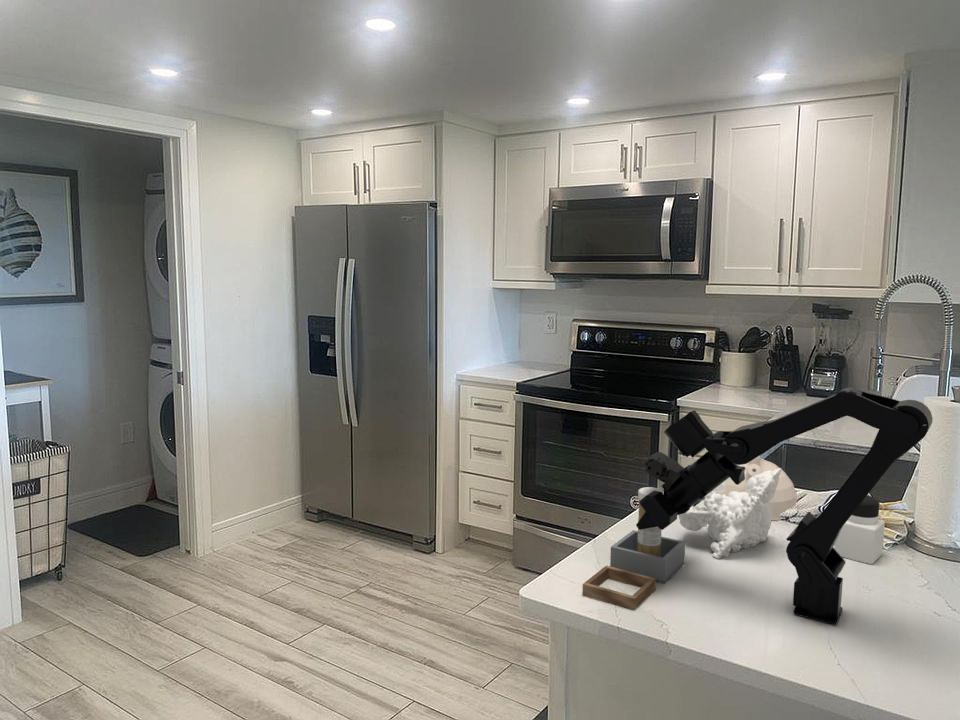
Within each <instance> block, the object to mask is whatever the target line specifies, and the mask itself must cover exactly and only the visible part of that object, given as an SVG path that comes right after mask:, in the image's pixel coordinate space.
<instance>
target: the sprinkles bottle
mask: <svg viewBox="0 0 960 720" xmlns="http://www.w3.org/2000/svg"><path fill="white" fill-rule="evenodd" d="M653 491H659V492H662V494H663V492H664V490H662V489H660V488H657V487H651V486H646V487H641V488H639V489H638V491H637V492H638V493H637V499H638V519H637V522H638V521H639V520H640V519H641V517H642V516H643V514H644V513H645V512H646V511H645V510H644V509H643V507H642V506H641V505H640V500H641V499H643V498H644V497H645V496H646V495H648V494H650V493H651V492H653ZM637 531H638V552H641V553H646V554H650V555H654V556H658V557H661V556H660V545H661V536H662V530H661V529H659V528H658V527H652V528H647V529H641V530H639V529H638V528H637Z"/></svg>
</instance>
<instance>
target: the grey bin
mask: <svg viewBox="0 0 960 720" xmlns="http://www.w3.org/2000/svg"><path fill="white" fill-rule="evenodd" d="M660 556H661V557H658V556H654V555H650V554H646V553H641V552H638V530H635V529H633V530H631V531H630V532H629V533H627V534H626V535H624V537H622V538H621V539H619V540H618V541H617V542H615V543H614V544H613V545H611V546H610V556H609V557H610V559H609V560H610V561H609V562H610V563H609V566H610V567H614V568H618V569H622V570H626V571H630V572H634V573H637V574H641V575H645V576H649V577H653V578H656V583H659V584H662V585H665V584H666V583H667V582H668V581H669V580H670V579H671V578H672V577H673V576H674V575H675V574H676V573H677V572H678V571H679V570H680V569H681V568H682V567H683V566H684V565H685V559H686V558H685V556H686V541H684V540H678V539H675V538H670V537H665V536H662V535H661V545H660Z"/></svg>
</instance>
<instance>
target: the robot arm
mask: <svg viewBox="0 0 960 720" xmlns="http://www.w3.org/2000/svg"><path fill="white" fill-rule="evenodd" d="M844 417H850V418H853V419H855V420H857V421H860V422H862V423H864V424H866V425H868V426H870V427H872V428H874V429H877V430H878V431H877V433H876V435H875V437H874V440H873V442H872V445H871V447H870V449H869V450H868V452H867V453H866V454H865V456H864V457H863V458H862V460H861V461H860V462H859V464H858V465H857V466H856V468H855V469H854V470H853V471H852V473H851V474H850V475H849V477H847V479H846V481H845V482H844V483H843V484H842V486H841V487H840V489H838V491H837V492H836V494H834V496H833V498H831V500H830V502H829V503H828V504H827V505H826V507H825V508H824V509H823V510H822V511H821V512H820V513H818V514H817V515H816V516H814V514H812V513H811V512H810V511H808V512H806V514H805V515H804V516H803V517H802V518H801V520H800V521H799V523H798V525H797V526H796V527H795V528H794V529H793V530H792V532H791V533H789V535H788V536H787V538H786V541H787V542H789V543H788V544H787V546H786V548H785V552H786V556H787V559H788V560H789V562H790V564H792V566H793V567H794V568H795V571H796V574H797V578H796V580H795V581H794V583H793V594H792V595H793V596H792V597H793V598H792V606H793V607H794V609H793V614H794V615H796V616H800V617H803V618H808V619H811V620H816V621H820V622H824V623H827V624H831V625H838V622H839V620H840V617H841V615H842V613H843V609H844V608H843V607H842V594H843V582H844V580H843V579H844V578H843V577H841V576H840V574H841V572H842V570H843V568H844V567H845V565H846V560H845V558H844V557H841V556H840V555H839V553H838V552H837V551H836V550H835V549H834V544H835V542H836V540H837V538H838V536H839V534H840V531H841V529H842V527H843V525H844V524H845V523H846V521H847V520H848V519H849V518H850V516H851V515H852V514H853V513H854V511H855V510H856V509H857V507H858V506H859V505H860V504H861V502H862V501H863V500H864V499H865V497H866V496H867V495H869V494H870V492H871V491H872V490H873V489H874V487H875V486H876V485H877V483H878V482H879V481H880V480H881V478H882V477H883V476H884V475H885V473H886V472H888V469H889V468H890V467H891V466H892V464H894V463H895V462H896V461H897V460H899V459H900V458H901V457H903V456H904V455H905V454H907V453H908V452H909V451H910V450H911V449H912V448H914V446H916V445H917V444H919V443H920V442H921V441H922V440H923V439H924V438H925V437H926V435H927V434H928V432H929V430H930V428H931V426H932V424H933V421H934V419H933V418H934V417H933V415H932V411H931V410H930V408H929V407H928V406H927V405H926V404H924V403H923V402H921V401H919V400H916V399H906V400H898V399H894V398H891V397H889V396H883V395H880V394H875V393H871V392H866V391H863V390H861V389H859V388H856V387H853V386H852V387H851V386H849V387H845V388H843V389H841V390H840V391H838V392H837V393H835V394H832V395H830V396H828V397H826V398H823V399H820V400H818V401H815V402H814V403H811V404H809V405H806V406H804V407H802V408H799V409H797V410H794V411H792V412H789V413H787V414H786V415H785V414H784V415H782V416H780V417H778V418H776V419H771V420H767V421H760V422H754V423H752V424H751V423H750V424H745V425H742V426H739V427H737V428H736V429H735V430H718V431H716V432H713V431H712V430H711V429H710V427H709V426H708V425H707V424H706V423H705V422H704V421H703V420H702V418H701V416H700V414H699V413H698V412H697V411H696V410H695V409H694V410H691V411H689V412H687V414H686V415H684V416H682V417H681V418H680V419H678V420H677V421H675V422H672V424H670V425H669V426H668V427H667V428H666V429H665V430H664V431H663V433H664V434H665V436H666V437H667V439H669V441H670V442H671V443H672V444H673V445H674V447H675V448H676V449H677V450H678V451H679V453H681V455H682V456H683V457H684V458H685V457H686V458H688V457H691V458H692V459H694V458H695V457H697V456H698V455H699V454H701V453H703V452H704V451H705V450H706V452H705V453H704V454H702V455H701V456H700V457H699V458H697V459H696V460H695V461H694V462H693V463H691V464H688V465H687V466H685V467H684V466H682V465H681V464H679V462H677V461H676V460H675V459H673V458H671V457H670V456H668V455H666V454H665V453H664V452H661V451H657V452H655V453H653V454H651V455H650V456H649V459H648V460H647V461H645V462H644V468H643V470H644V472H645V473H646V474H647V475H650V476H651V477H653V478H655V479H657V480H658V481H660V482H662V485H661V484H660V485H661V488H662V489H663V494H662V492H659V491H653V492H651V493H650V494H648V495H646V496H645V497H644V498H643V499H641V500H640V505H641V506H642V507H643V509H644V510H645V511H646V512H645V513H644V514H643V516H642V517H641V519H640V520H639V521H638V520H637V523H636V525H635V526H636V528H637V530H638V529H639V530H641V529H647V528H652V527H658V528H659V529H661V531H663V530H665V529H667V527H668V526H670V525H671V524H673V523H674V522H675V521H677V520H678V516H679V515H680V514H683V513H686V512H687V511H688V510H690V508H691V507H692V506H693V507H694V506H697V505H698V504H700V503H701V502H702V501H704V499H705V496H706V495H707V494H709V493H710V492H711V491H713V490H714V489H715V488H716V487H718V486H719V485H720V484H722V483H723V482H724V481H726V480H727V479H728V478H729V477H730V478H731V479H732V481H733V482H734V483H735V484H736V485H739V484H740V483H741V482H742V481H744V480H745V473H744V471H745V467H742V466H738V465H743V464H747V463H749V462H750V461H752V460H753V459H755V458H756V457H758V456H760V457H761V455H763V454H765V453H766V452H767V451H769V450H771V449H772V448H774V447H775V446H777V445H779V444H780V443H782V442H784V441H786V440H789V439H791V438H795V437H796V436H799V435H802V434H804V433H806V432H810V431H812V430H814V429H817V428H818V427H822V426H824V425H827V424H829V423H832V422H835V421H837V420H839V419H841V418H842V419H843V418H844Z"/></svg>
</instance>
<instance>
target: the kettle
mask: <svg viewBox="0 0 960 720" xmlns="http://www.w3.org/2000/svg"><path fill="white" fill-rule="evenodd" d="M738 466H742V467H745V471H744V473H745V480H744V481H742V482H741V483H740V484H739V485H736V484H735V483H734V482H733V481H732V479H731V478H730V477H729V478H728V479H727V480H726V481H724V482H725V485H726V489H725V491H724V492H722V494H725V495H726V496H729V493H730V492H732V491H737V492H746V491H745V485H746V483H747V481H748V480H749V479H750V478H751V477H753V476H755V475H757V474H760V473H762V472H765V471H769V470H771V471H773V470H775V469H778V468H780V467H779V466H778V465H776V464H775V463H774V462H771V461H768V460H765V459H763V458H761V455H760V456H758V457H756V458H755V459H753V460H752V461H750V462H749V463H747V464H743V465H738ZM796 503H797V504H798V495H797V491H796V489H795V486H794V483H793V481H792V480H791V479H790V477H789V475H787V473H786V472H785V471H784V470H783V469H782V470H781V473H780V475H779V482H778V485H777V487H776V491H775V494H774V497H773V498H772V499H771V500H770V501H769V502H767V503H761V504H766V505H768V506H769V507H770V509H771V513H772V518H771V522H772V521H782V520H781V517H780V514H781V513H783V512H785V511H786V510H787V509H790V508H792V507H793V506H794V505H796Z"/></svg>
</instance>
